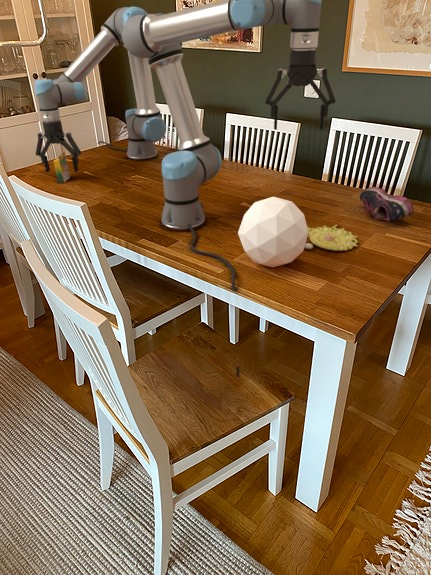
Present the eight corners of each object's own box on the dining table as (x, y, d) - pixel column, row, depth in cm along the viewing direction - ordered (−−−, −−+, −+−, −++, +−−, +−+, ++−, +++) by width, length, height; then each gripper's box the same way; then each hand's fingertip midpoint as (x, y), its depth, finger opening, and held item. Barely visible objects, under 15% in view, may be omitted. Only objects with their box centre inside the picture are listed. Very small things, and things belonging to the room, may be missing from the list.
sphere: (280, 289, 130) (288, 262, 111) (225, 253, 134) (224, 221, 116) (315, 241, 135) (328, 208, 116) (260, 208, 139) (265, 171, 121)
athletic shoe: (369, 185, 163) (343, 194, 159) (416, 181, 144) (388, 190, 140) (374, 215, 166) (349, 224, 162) (420, 215, 146) (393, 225, 143)
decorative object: (343, 255, 128) (285, 234, 139) (342, 262, 130) (284, 241, 140) (372, 230, 142) (317, 213, 152) (371, 237, 143) (316, 219, 153)
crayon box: (64, 177, 201) (58, 151, 195) (70, 177, 201) (65, 151, 195) (58, 182, 195) (52, 156, 189) (64, 182, 195) (58, 156, 189)
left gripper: (19, 122, 182) (32, 173, 194) (76, 122, 180) (86, 173, 192) (27, 118, 189) (39, 168, 200) (82, 118, 187) (91, 168, 198)
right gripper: (258, 51, 121) (256, 131, 132) (351, 49, 119) (341, 131, 130) (258, 49, 127) (256, 125, 138) (347, 47, 125) (337, 125, 136)
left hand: (62, 171), depth 196 cm, fingers open, 12 cm apart
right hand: (297, 128), depth 134 cm, fingers open, 13 cm apart
